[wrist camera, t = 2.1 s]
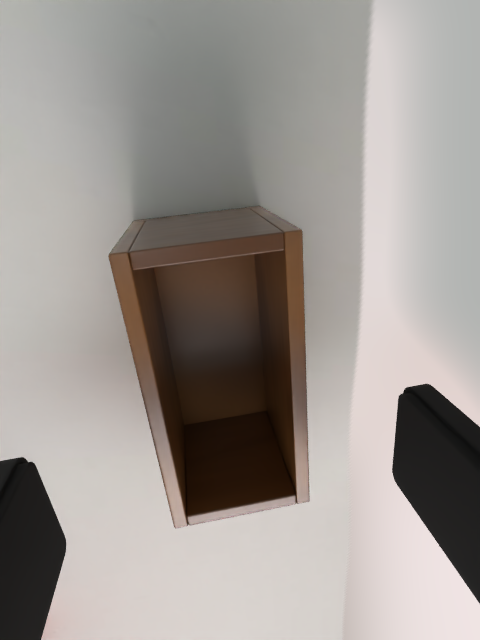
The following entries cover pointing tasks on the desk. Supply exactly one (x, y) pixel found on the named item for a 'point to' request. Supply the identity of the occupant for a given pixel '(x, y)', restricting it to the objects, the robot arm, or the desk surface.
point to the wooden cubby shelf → (219, 357)
